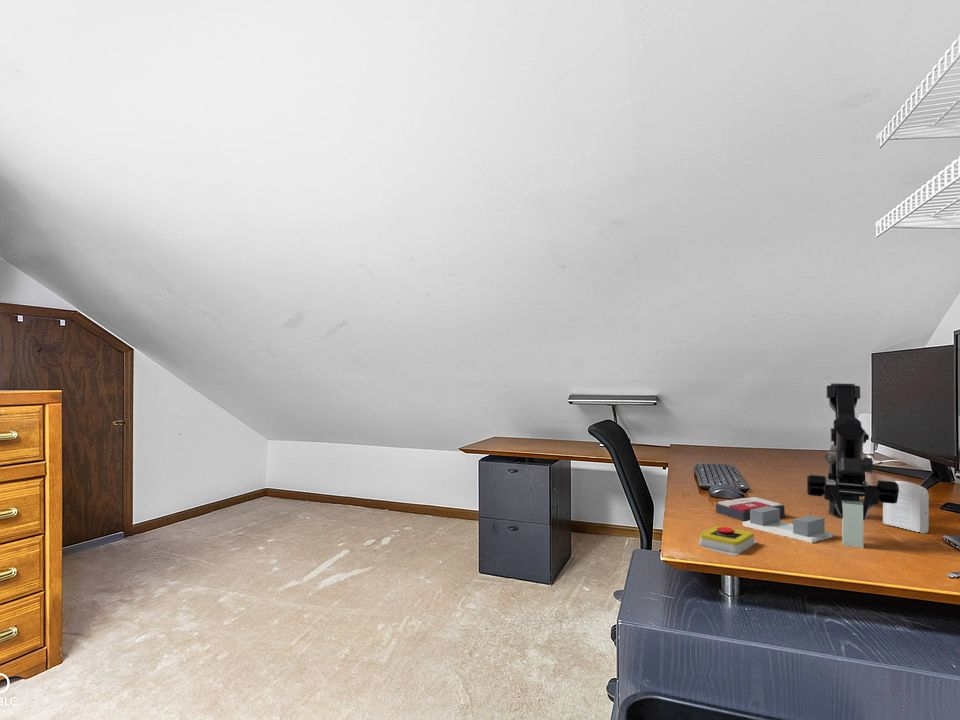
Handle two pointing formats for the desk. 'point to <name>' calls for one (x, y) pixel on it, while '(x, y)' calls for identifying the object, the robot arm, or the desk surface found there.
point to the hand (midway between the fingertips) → (852, 518)
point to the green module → (852, 523)
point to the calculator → (745, 507)
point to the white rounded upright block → (908, 508)
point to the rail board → (788, 525)
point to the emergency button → (727, 540)
